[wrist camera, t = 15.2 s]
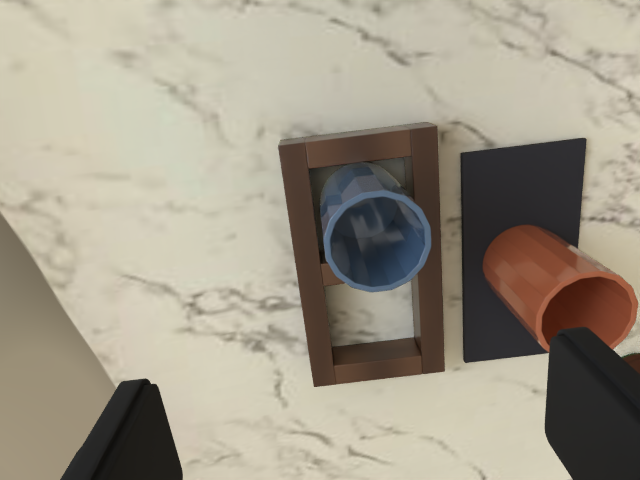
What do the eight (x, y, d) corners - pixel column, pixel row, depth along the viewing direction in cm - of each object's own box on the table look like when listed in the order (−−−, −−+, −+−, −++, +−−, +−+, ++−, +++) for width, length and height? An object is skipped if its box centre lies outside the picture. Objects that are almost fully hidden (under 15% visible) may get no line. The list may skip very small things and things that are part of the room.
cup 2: (482, 229, 39) (538, 278, 30) (562, 219, 39) (643, 265, 30) (482, 300, 41) (534, 366, 32) (557, 291, 41) (631, 354, 32)
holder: (313, 367, 44) (313, 387, 41) (280, 140, 37) (278, 145, 34) (436, 352, 44) (445, 371, 41) (427, 121, 36) (437, 125, 34)
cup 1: (315, 167, 37) (318, 198, 28) (397, 157, 37) (429, 184, 28) (324, 244, 40) (330, 297, 30) (402, 235, 40) (433, 285, 30)
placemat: (460, 152, 37) (462, 153, 37) (583, 137, 37) (586, 138, 37) (463, 360, 44) (465, 363, 44) (567, 347, 44) (569, 350, 44)
